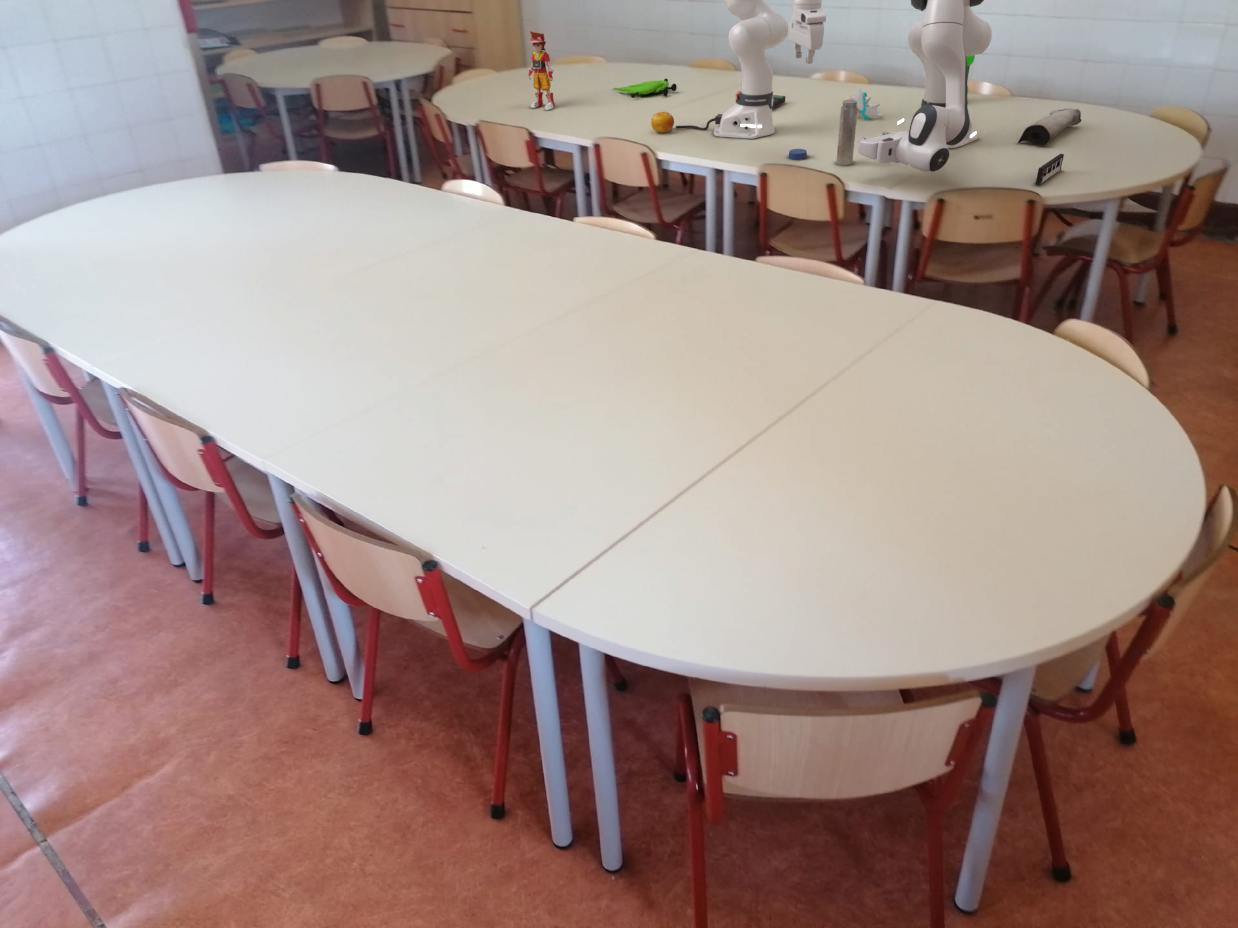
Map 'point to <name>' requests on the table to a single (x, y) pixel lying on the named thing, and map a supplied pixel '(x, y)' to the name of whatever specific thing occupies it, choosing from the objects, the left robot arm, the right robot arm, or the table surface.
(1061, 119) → the rolled mat
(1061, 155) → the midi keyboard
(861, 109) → the anatomical model
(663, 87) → the toy
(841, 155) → the jar
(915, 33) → the right robot arm
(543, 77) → the toy
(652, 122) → the fruit
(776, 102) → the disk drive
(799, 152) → the lid
